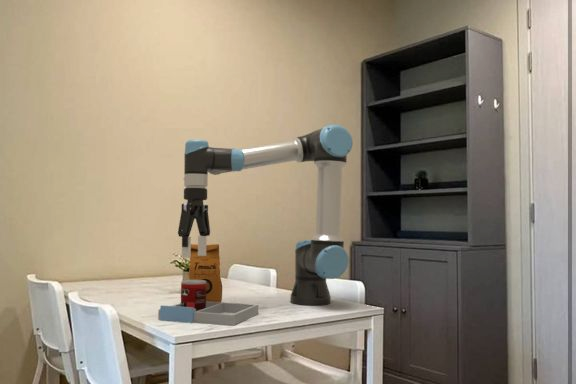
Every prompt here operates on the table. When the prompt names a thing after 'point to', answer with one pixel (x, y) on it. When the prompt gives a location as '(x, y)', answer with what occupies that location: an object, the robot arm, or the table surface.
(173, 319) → the grey shallow tray
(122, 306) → the table surface
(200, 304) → the canned food
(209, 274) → the coffee package
